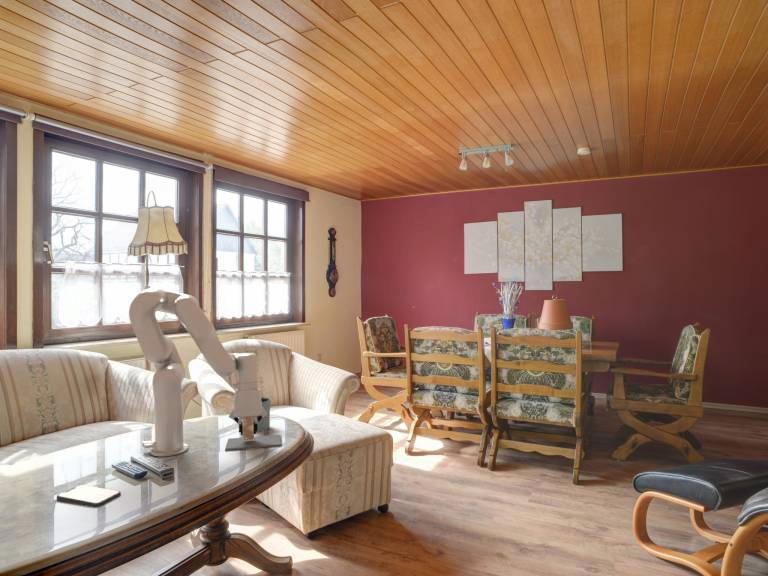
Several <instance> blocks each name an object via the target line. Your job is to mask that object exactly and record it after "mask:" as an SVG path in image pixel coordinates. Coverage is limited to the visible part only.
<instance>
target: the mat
mask: <svg viewBox="0 0 768 576" xmlns="http://www.w3.org/2000/svg"><path fill="white" fill-rule="evenodd" d="M276 446H279V447H282V434H271V435H258V436H257V435H256V436H255V435H254V439H251V440H243V436H242V437H231V438H229V437H228V438H227V442H226V445H225V449H224V451H225V452H228V451H227V450H231V451H241V450H240V449H243V450H251V449H250V448H255V449H264V448H263V447H267V448H276Z"/></svg>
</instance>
